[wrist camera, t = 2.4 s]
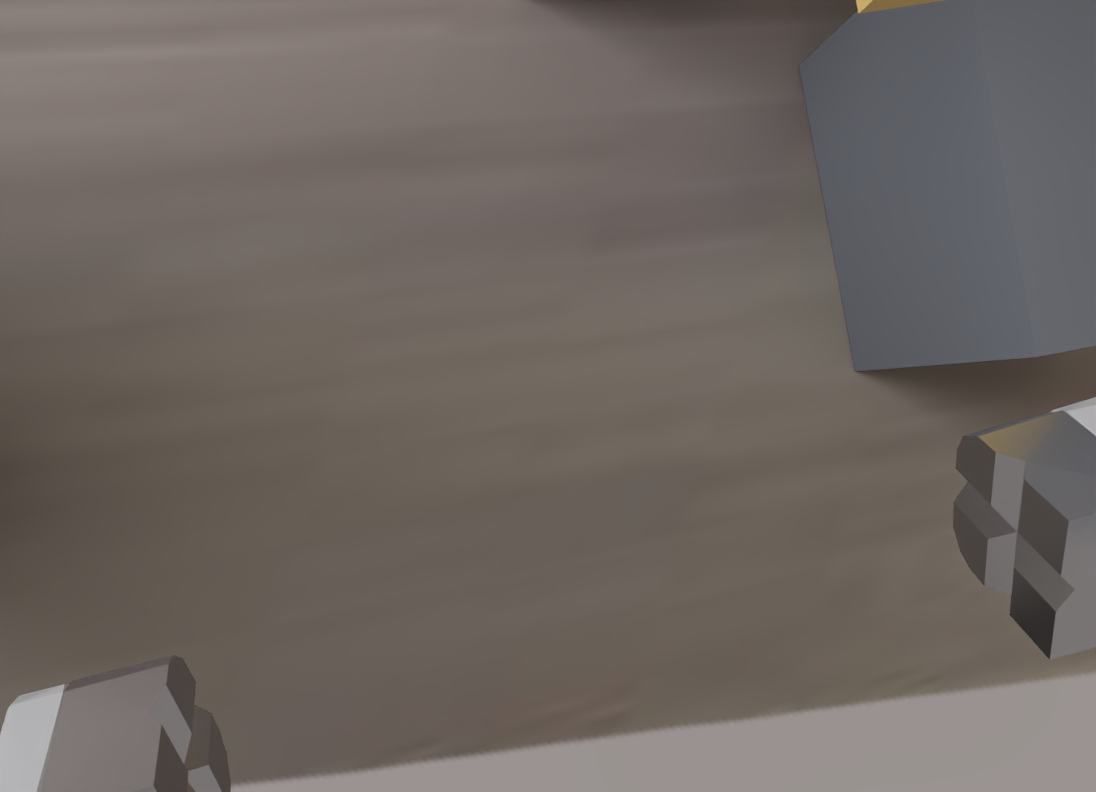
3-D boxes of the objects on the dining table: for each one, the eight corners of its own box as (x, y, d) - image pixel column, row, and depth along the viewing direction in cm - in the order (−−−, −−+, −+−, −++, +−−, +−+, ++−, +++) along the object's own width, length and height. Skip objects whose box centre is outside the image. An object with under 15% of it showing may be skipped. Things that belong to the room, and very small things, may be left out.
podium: (1060, 331, 48) (1323, 301, 34) (855, 371, 47) (1036, 357, 33) (1006, 32, 48) (1247, -126, 34) (798, 65, 47) (956, -83, 33)
